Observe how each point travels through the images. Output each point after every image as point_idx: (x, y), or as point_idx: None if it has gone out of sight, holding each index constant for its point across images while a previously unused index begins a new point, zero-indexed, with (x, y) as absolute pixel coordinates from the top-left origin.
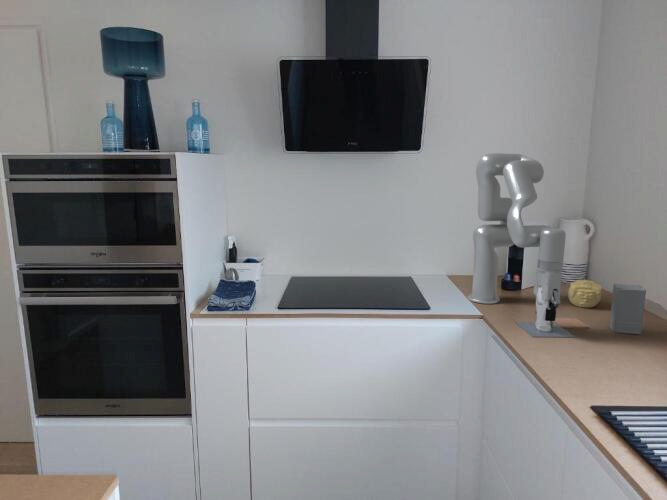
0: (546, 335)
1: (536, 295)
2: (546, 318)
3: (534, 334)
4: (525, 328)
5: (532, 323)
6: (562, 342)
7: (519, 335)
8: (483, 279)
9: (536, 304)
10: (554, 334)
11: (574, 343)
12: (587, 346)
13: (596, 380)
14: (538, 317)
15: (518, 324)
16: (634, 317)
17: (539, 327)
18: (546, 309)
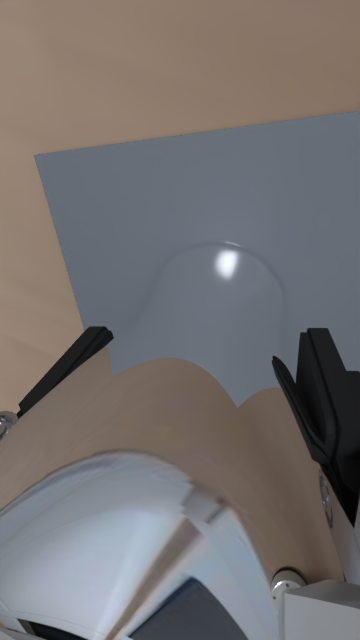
0: (88, 272)
1: (111, 591)
2: (85, 341)
3: (85, 189)
4: (220, 158)
5: (352, 274)
6: (14, 317)
7: (43, 31)
8: None
9: (157, 363)
10: (118, 328)
11: (22, 366)
12: (6, 398)
13: None
14: (171, 296)
15: (341, 117)
16: None
17: (168, 268)
18: (24, 403)
